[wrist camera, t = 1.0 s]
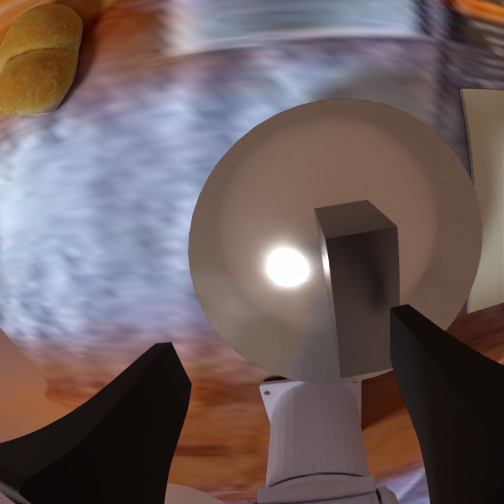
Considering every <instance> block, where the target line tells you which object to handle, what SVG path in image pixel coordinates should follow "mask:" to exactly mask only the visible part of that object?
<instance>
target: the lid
mask: <svg viewBox="0 0 504 504" xmlns="http://www.w3.org/2000/svg"><path fill="white" fill-rule="evenodd" d="M481 250H482V219H481V212H480V206H479V202H478V198H477V195H476V192H475V188H474V186H473V183H472V181H471V179H470V177H469V175H468V172H467V170H466V169H465V167H464V165H463V164H462V162H461V161H460V159H459V158H458V156H457V155H456V153H455V152H454V151H453V150H452V148H451V147H450V146H449V145H448V144H447V143H446V142H445V141H444V139H443V138H442V137H440V136H439V135H438V134H437V133H436V132H435V131H433V130H432V129H431V128H430V127H429V126H427V125H426V124H424V123H423V122H421V121H419V120H418V119H416V118H414V117H413V116H411V115H409V114H407V113H405V112H403V111H400V110H398V109H395V108H393V107H390V106H387V105H383V104H379V103H375V102H371V101H366V100H354V99H334V100H321V101H317V102H312V103H308V104H303V105H299V106H296V107H294V108H291V109H289V110H286V111H284V112H281V113H279V114H276V115H274V116H273V117H271V118H269V119H267V120H266V121H264V122H262V123H260V124H259V125H257V126H256V127H254V128H253V129H252V130H250V131H249V132H248V133H247V134H245V135H244V136H243V137H242V138H240V139H239V140H238V141H237V142H236V143H235V144H234V145H233V146H232V147H231V148H230V149H229V150H228V151H227V152H226V154H225V155H224V156H223V157H222V158H221V159H220V161H219V162H218V164H217V165H216V167H215V168H214V169H213V171H212V172H211V174H210V175H209V177H208V179H207V181H206V183H205V185H204V187H203V189H202V191H201V193H200V195H199V198H198V201H197V204H196V207H195V210H194V213H193V216H192V221H191V227H190V232H189V249H188V257H189V266H190V274H191V278H192V282H193V286H194V290H195V293H196V296H197V298H198V301H199V303H200V305H201V308H202V310H203V311H204V313H205V315H206V317H207V318H208V320H209V322H210V324H211V325H212V326H213V327H214V329H215V330H216V331H217V333H218V334H219V335H220V336H221V338H222V339H223V340H224V341H225V342H226V343H227V344H228V345H229V346H230V347H231V348H232V349H234V350H235V351H236V352H237V353H239V354H240V355H241V356H243V357H244V358H245V359H246V360H248V361H250V362H251V363H253V364H255V365H257V366H258V367H260V368H262V369H264V370H266V371H269V372H271V373H273V374H275V375H279V376H282V377H285V378H288V379H291V380H296V381H302V382H307V383H318V384H341V383H348V382H356V381H360V380H364V379H369V378H373V377H375V376H378V375H381V374H384V373H387V372H389V371H391V370H393V367H392V363H391V359H390V308H392V307H396V306H400V305H405V304H409V305H410V306H412V307H413V308H415V309H416V310H417V311H419V312H420V313H421V314H423V315H424V316H425V317H427V318H428V319H429V320H431V321H432V322H433V323H435V324H436V325H437V326H439V327H440V328H442V329H443V330H444V331H446V330H447V328H448V327H449V326H450V325H451V324H452V322H453V321H454V320H455V318H456V317H457V315H458V314H459V312H460V311H461V309H462V307H463V306H464V304H465V302H466V300H467V298H468V296H469V294H470V292H471V289H472V287H473V284H474V281H475V278H476V276H477V272H478V267H479V263H480V259H481Z"/></svg>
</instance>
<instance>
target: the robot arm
mask: <svg viewBox="0 0 504 504" xmlns="http://www.w3.org/2000/svg"><path fill="white" fill-rule="evenodd" d="M390 359H391V363H392V367H393V371H394V374H395V378H396V382H397V384H398V387H399V390H400V392H401V395H402V397H403V400H404V402H405V405H406V407H407V410H408V413H409V415H410V418H411V420H412V423H413V426H414V428H415V431H416V434H417V437H418V440H419V444H420V447H421V452H422V456H423V461H424V466H425V471H426V477H427V483H428V490H429V497H430V504H504V365H502V364H500V363H498V362H496V361H494V360H492V359H490V358H488V357H486V356H484V355H482V354H480V353H479V352H477V351H475V350H474V349H472V348H470V347H469V346H467V345H465V344H464V343H462V342H461V341H459V340H458V339H456V338H455V337H453V336H452V335H450V334H449V333H447V332H446V331H444V330H443V329H442V328H440V327H439V326H437V325H436V324H435V323H433V322H432V321H431V320H429V319H428V318H427V317H425V316H424V315H423V314H421V313H420V312H419V311H417V310H416V309H415V308H413V307H412V306H410V305H409V304H405V305H400V306H396V307H392V308H390ZM191 386H192V384H191V382H190V380H189V378H188V376H187V374H186V372H185V370H184V368H183V366H182V364H181V361H180V359H179V357H178V355H177V353H176V351H175V349H174V347H173V345H172V342H167V343H156V344H155V345H153V346H152V347H151V348H149V349H148V350H147V351H146V352H145V353H144V354H142V355H141V356H140V357H139V358H138V359H137V360H136V361H134V362H133V363H132V364H131V365H130V366H129V367H128V368H127V369H125V370H124V371H123V372H122V373H121V374H120V375H119V376H117V377H116V378H115V379H114V380H113V381H112V382H110V383H109V384H108V385H107V386H106V387H104V388H103V389H102V390H101V391H99V392H98V393H97V394H96V395H95V396H93V397H92V398H91V399H89V400H88V401H87V402H85V403H84V404H82V405H81V406H79V407H78V408H76V409H75V410H73V411H72V412H70V413H69V414H67V415H65V416H64V417H62V418H60V419H58V420H56V421H55V422H53V423H51V424H49V425H47V426H45V427H43V428H41V429H39V430H37V431H35V432H32V433H30V434H27V435H25V436H22V437H19V438H16V439H13V440H10V441H6V442H3V443H0V492H2V493H3V494H4V495H5V496H6V497H8V498H9V499H10V500H12V501H13V502H14V503H15V504H164V501H165V494H166V487H167V481H168V475H169V470H170V466H171V462H172V458H173V455H174V452H175V449H176V446H177V442H178V439H179V436H180V433H181V430H182V427H183V424H184V420H185V417H186V414H187V410H188V405H189V400H190V393H191ZM260 391H261V395H262V398H263V401H264V404H265V407H266V411H267V414H268V417H269V420H270V423H271V430H270V443H269V455H268V466H267V477H266V488H259V489H258V497H257V501H248V502H247V503H246V504H399V503H398V500H397V497H396V495H395V494H394V493H393V492H392V491H390V490H388V488H387V487H385V486H382V487H378V488H376V487H375V480H374V476H369V472H368V465H367V459H366V452H365V446H364V440H363V435H362V429H361V380H360V381H356V382H348V383H341V384H318V383H307V382H302V381H296V380H291V379H285V380H277V381H267V382H262V383H261V384H260ZM266 391H269V392H266ZM0 504H5V503H4V502H3V501H1V500H0Z"/></svg>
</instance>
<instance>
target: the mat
mask: <svg viewBox="0 0 504 504" xmlns="http://www.w3.org/2000/svg"><path fill="white" fill-rule="evenodd" d="M459 90H460V95H461V100H462V106H463V112H464V118H465V124H466V131H467V139H468V148H469V158H470V169H471V181H472V183H473V186H474V188H475V192H476V195H477V198H478V202H479V206H480V212H481V219H482V250H481V259H480V263H479V267H478V272H477V276H476V278H475V281H474V284H473V287H472V289H471V292H470V294H469V296H468V300H467V308H466V311H467V312H468V313H471V312H475V311H478V310H481V309H485V308H488V307H491V306H494V305H497V304H500V303H504V91H503V90H486V89H459Z"/></svg>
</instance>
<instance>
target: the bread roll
mask: <svg viewBox="0 0 504 504" xmlns="http://www.w3.org/2000/svg"><path fill="white" fill-rule="evenodd" d="M82 32H83V21H82V19H81V18H80V16H79V15H78V14H77V13H76V12H75V11H74V10H72V9H71V8H69V7H68V6H65V5H63V4H55V3H50V4H43V5H39V6H36V7H34V8H32V9H30V10H28V11H26V12H25V13H23V14H22V15H21V16H20V17H19V18H18V19H17V20H16V21H15V22H14V23H13V24H12V26H11V27H10V29H9V30H8V32H7V34H6V36H5V38H4V40H3V42H2V44H1V47H0V111H1V112H2V113H5V114H7V115H10V116H12V117H17V118H18V119H21V118H22V119H23V118H34V117H39V116H43V115H46V114H51V113H53V112H54V111H55V110H56V109H57V107H58V106H59V105H60V103H61V102H62V100H63V98H64V96H65V95H66V93H67V92H68V90H69V88H70V87H71V85H72V83H73V81H74V78H75V73H76V69H77V64H78V56H79V53H78V52H79V47H80V44H81V40H82Z"/></svg>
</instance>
